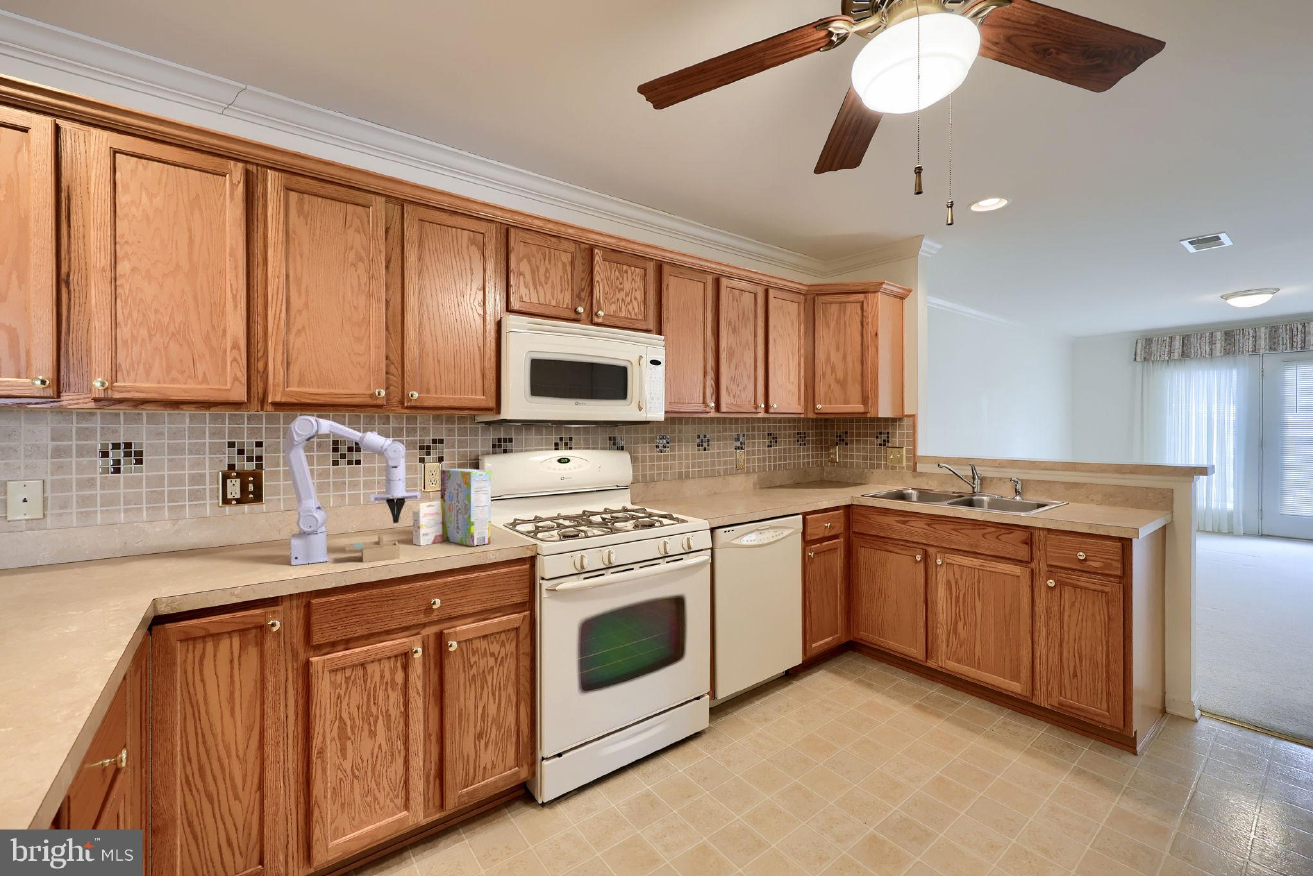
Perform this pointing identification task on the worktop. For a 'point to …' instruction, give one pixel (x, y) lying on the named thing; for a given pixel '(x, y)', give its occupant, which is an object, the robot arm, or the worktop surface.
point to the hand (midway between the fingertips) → (395, 522)
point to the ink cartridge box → (427, 524)
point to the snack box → (466, 506)
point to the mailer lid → (365, 544)
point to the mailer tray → (381, 552)
